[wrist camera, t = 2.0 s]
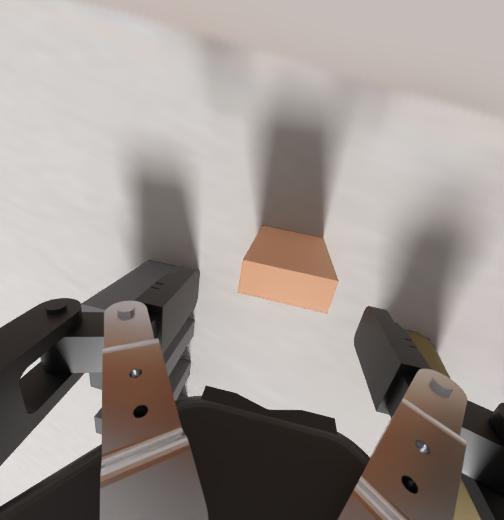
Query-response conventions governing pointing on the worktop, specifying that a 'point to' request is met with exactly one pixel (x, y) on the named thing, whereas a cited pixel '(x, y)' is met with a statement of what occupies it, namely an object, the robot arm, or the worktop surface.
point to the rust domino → (289, 269)
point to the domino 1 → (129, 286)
